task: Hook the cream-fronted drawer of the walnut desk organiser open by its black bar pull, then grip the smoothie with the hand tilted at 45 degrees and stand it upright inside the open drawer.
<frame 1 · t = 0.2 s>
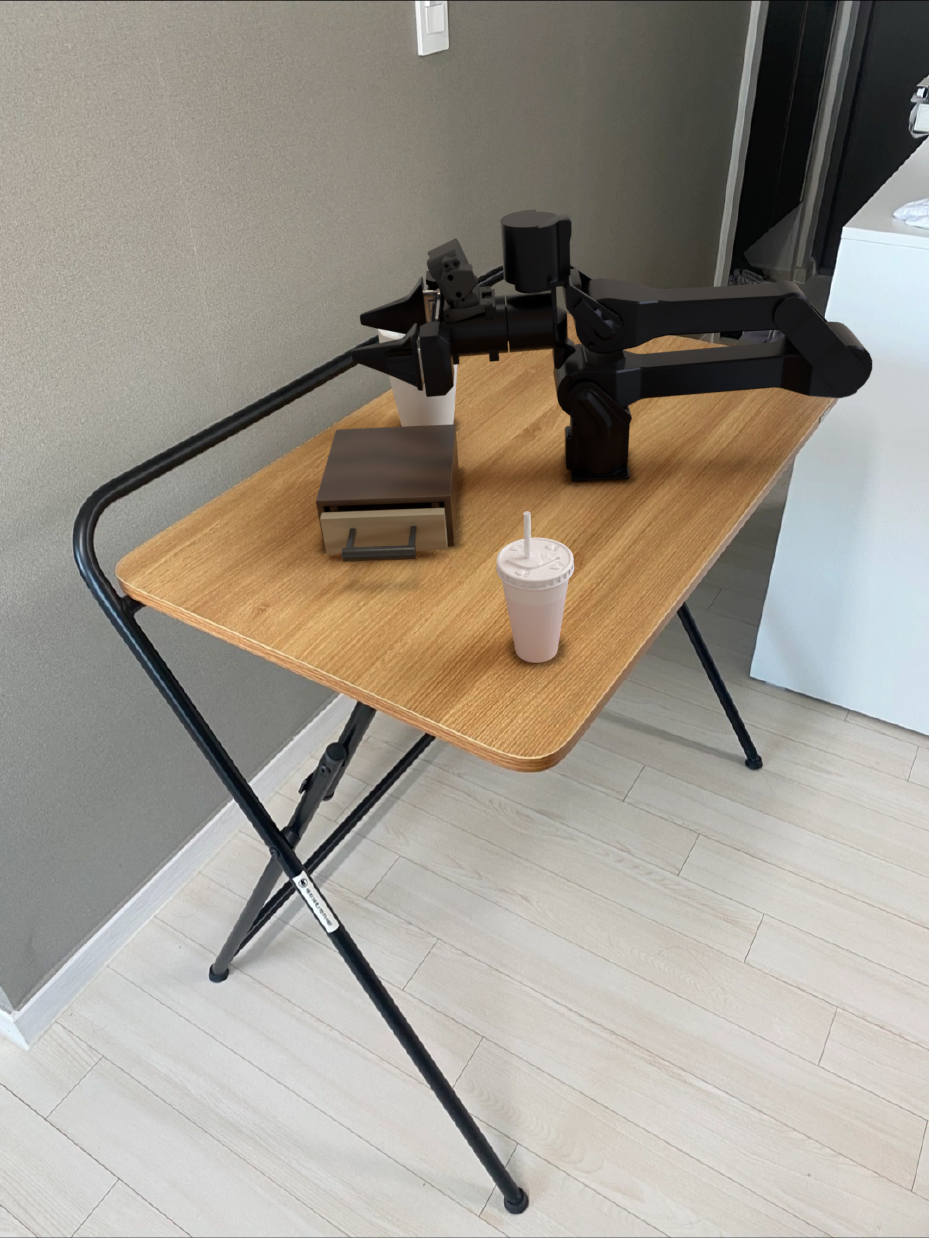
hand: (356, 337, 99), 17 cm above the table, tool horizontal, fingers open, 9 cm apart
smoothie: (536, 650, 84), on the table
cabinet: (395, 508, 104), on the table
foam cup: (428, 428, 119), on the table
drawer: (388, 509, 99), point 3 cm above the table, slide at 0.8 cm
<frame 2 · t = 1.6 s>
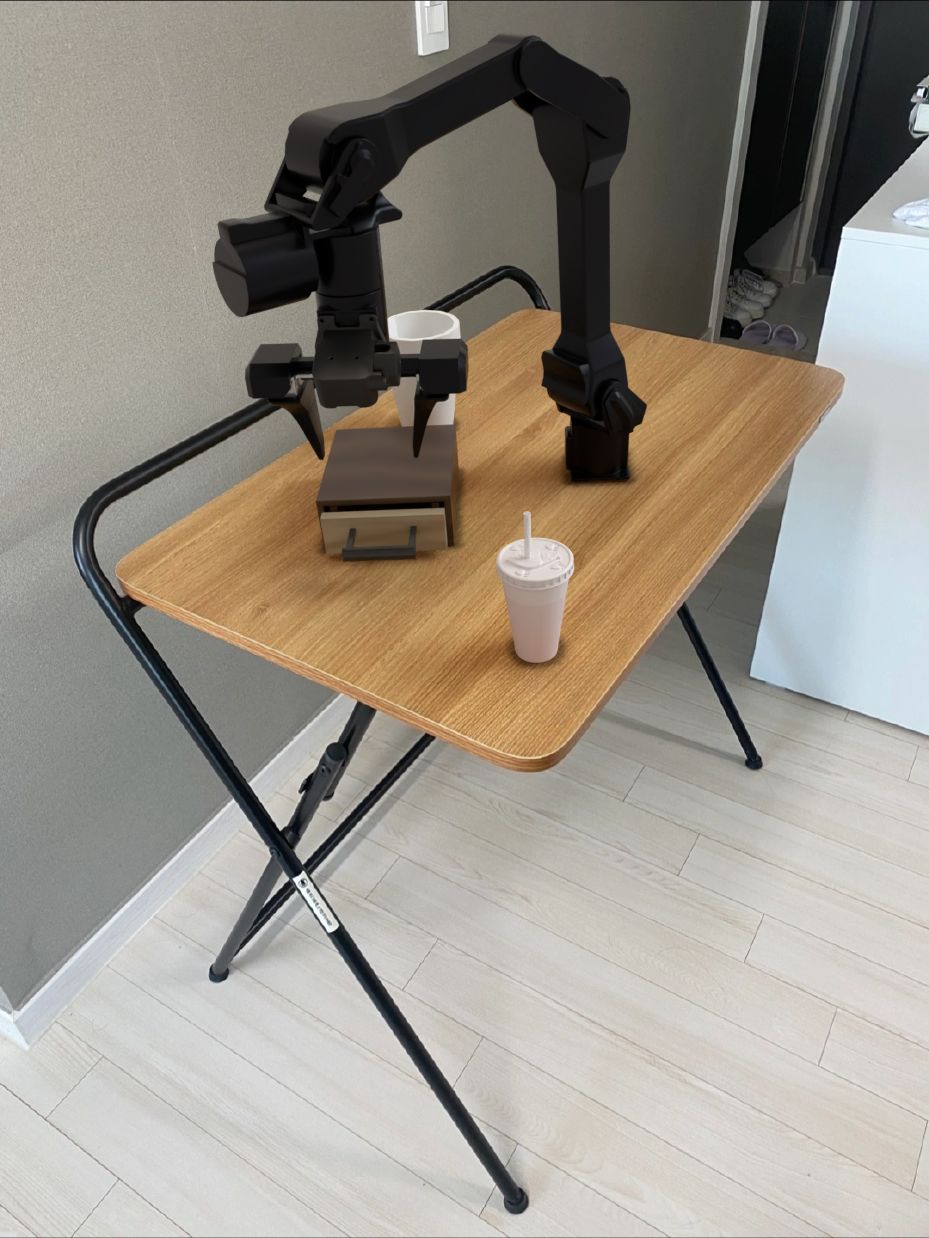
hand: (369, 457, 88), 12 cm above the table, tool pointing down, fingers open, 8 cm apart
nothing on the table moved.
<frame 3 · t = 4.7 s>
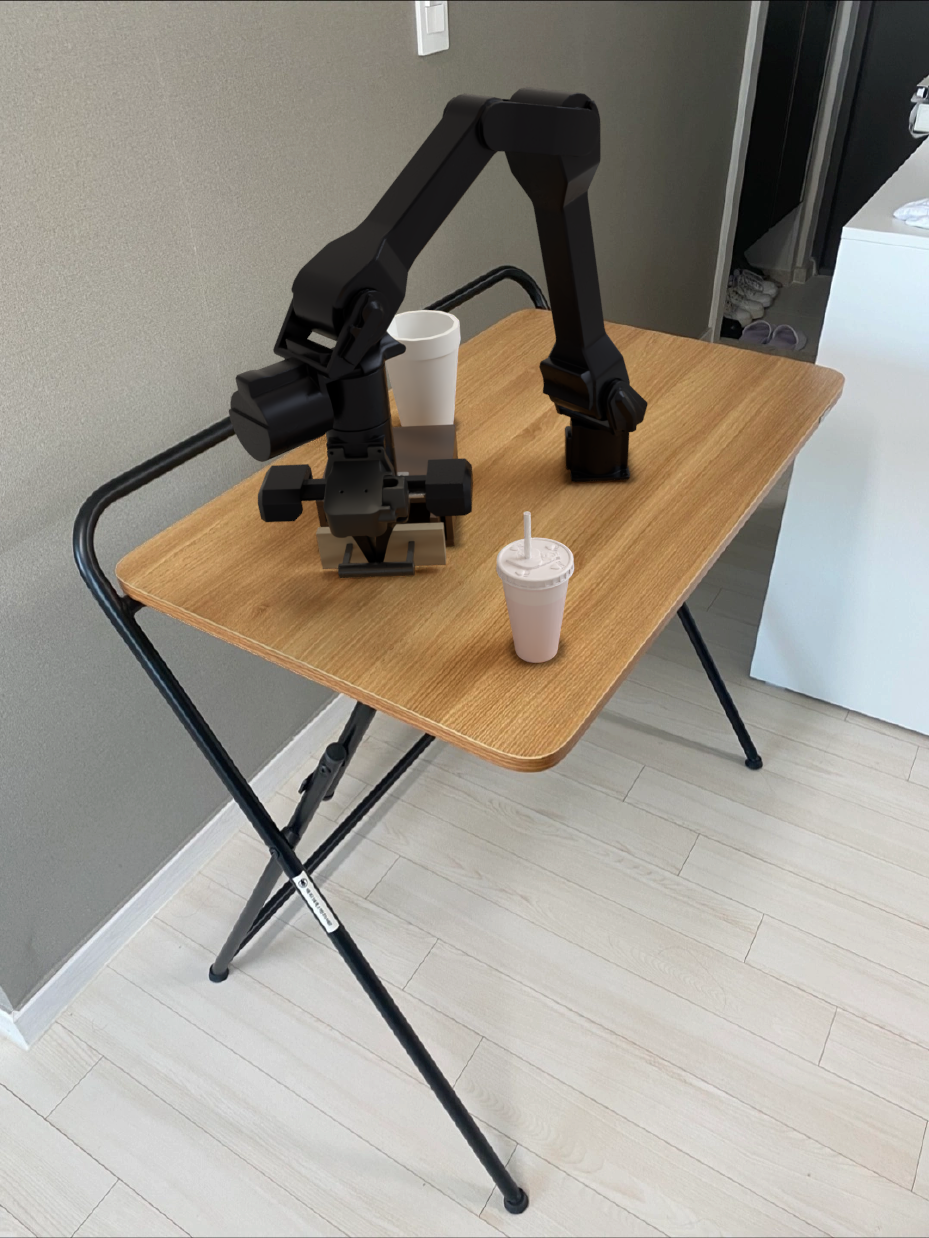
hand: (378, 567, 91), 3 cm above the table, tool pointing down, fingers closed, pressing on drawer
drawer: (386, 523, 96), point 3 cm above the table, slide at 3.5 cm, touching gripper
everything else where it was.
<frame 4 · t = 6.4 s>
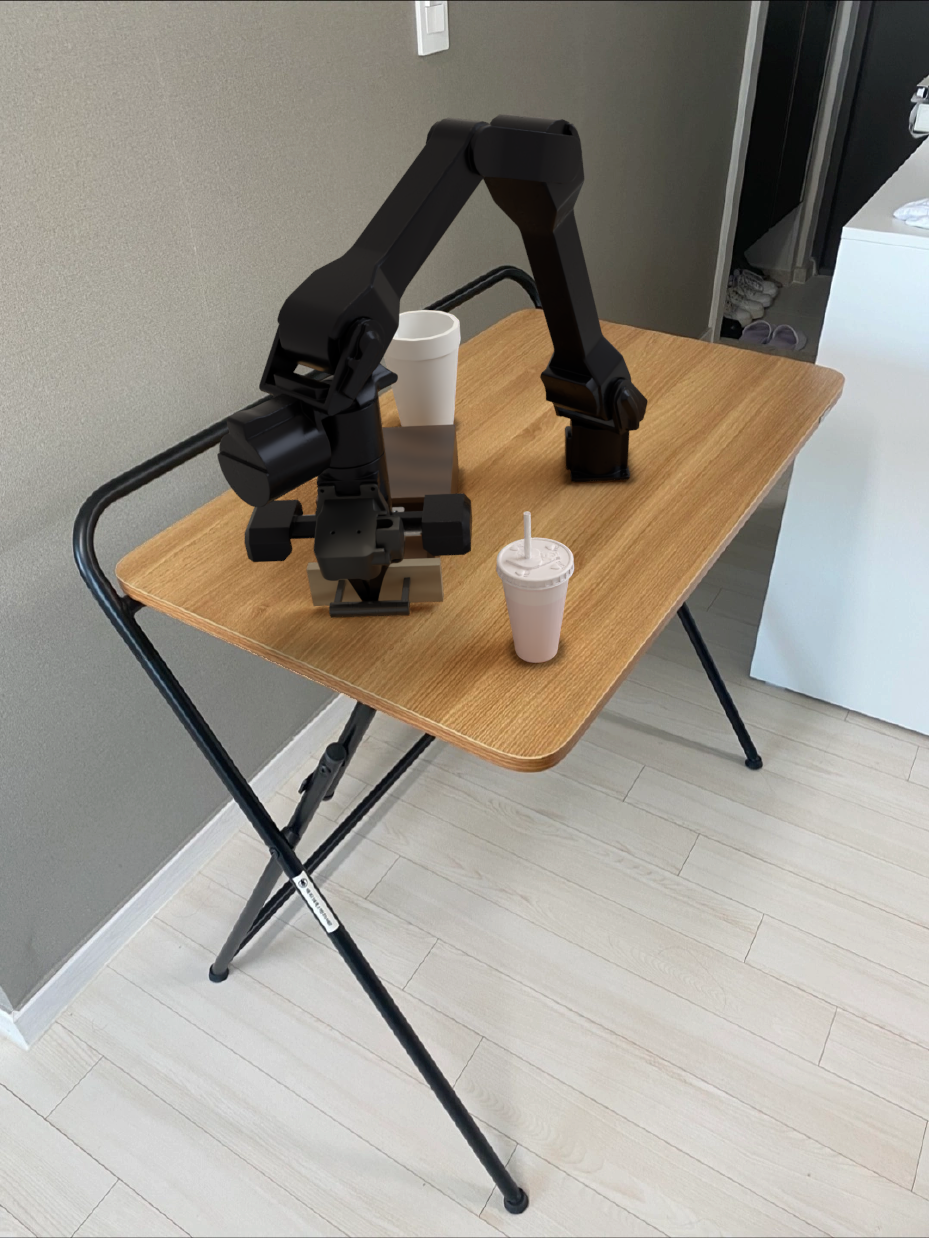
hand: (372, 606, 86), 3 cm above the table, tool pointing down, fingers closed, pressing on drawer
drawer: (380, 556, 92), point 3 cm above the table, slide at 9.4 cm, touching gripper
everything else where it was.
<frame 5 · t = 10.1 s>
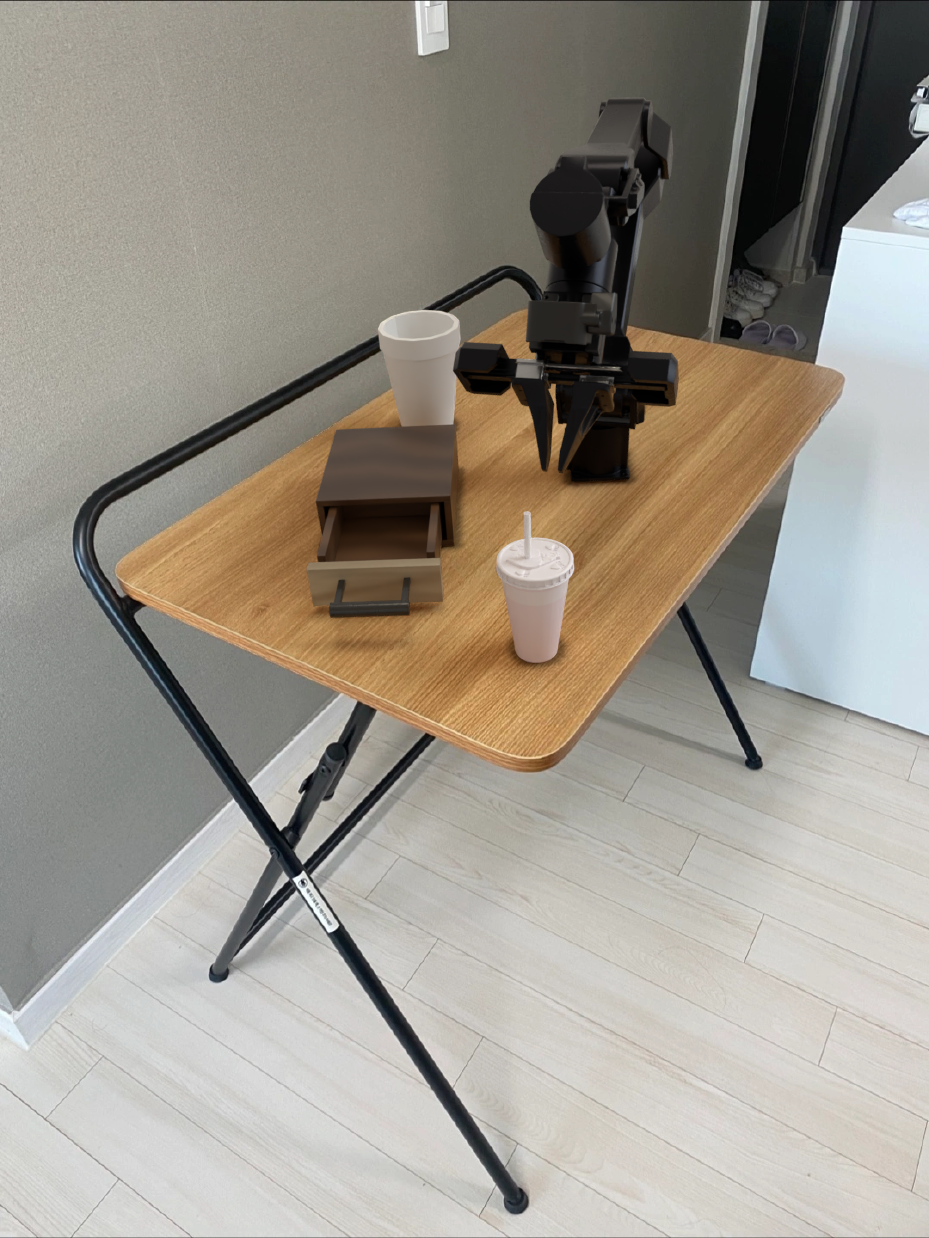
hand: (552, 471, 82), 13 cm above the table, tool tilted 45°, fingers closed
drawer: (380, 556, 92), point 3 cm above the table, slide at 9.5 cm
everything else where it was.
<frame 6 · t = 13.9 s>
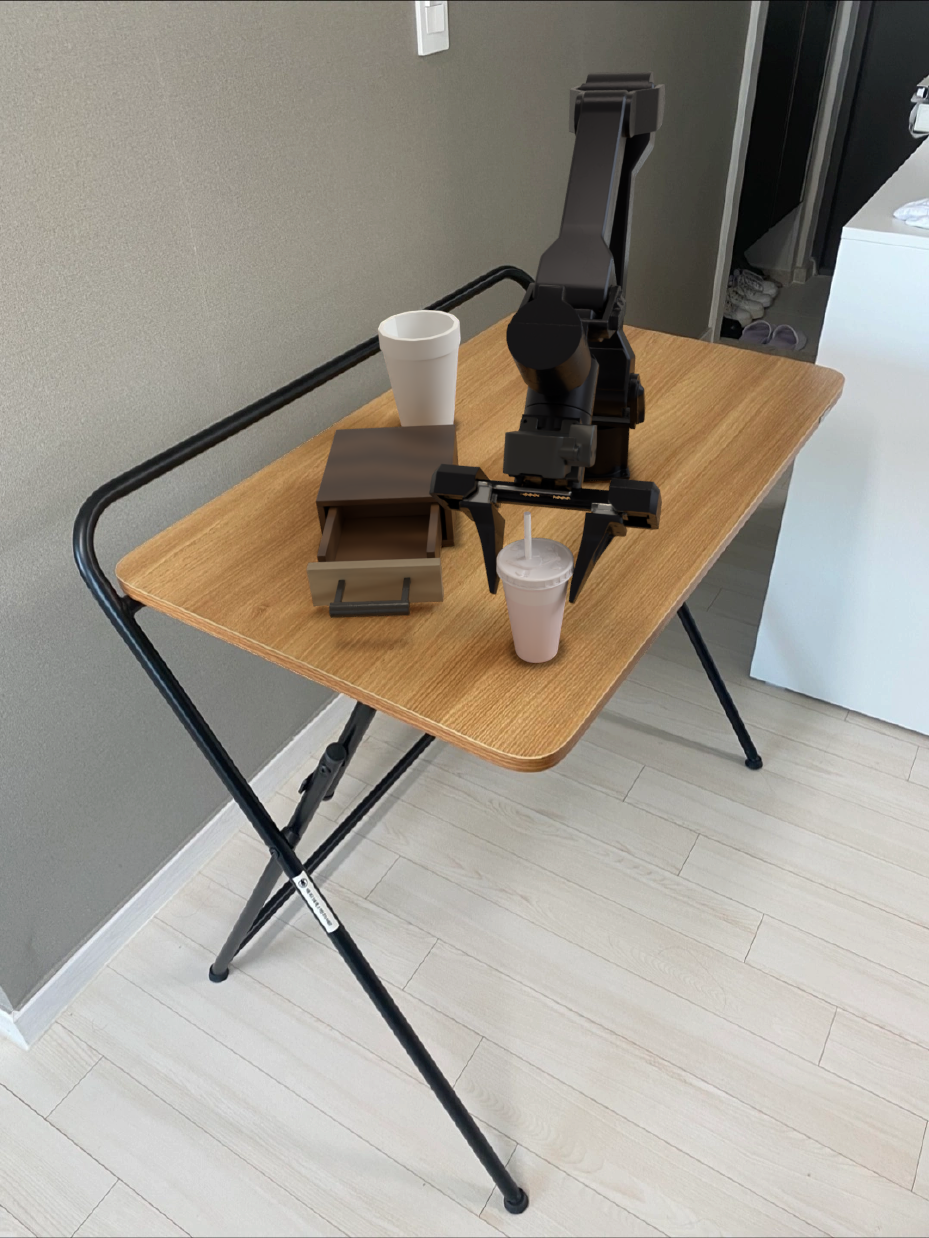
hand: (531, 598, 79), 7 cm above the table, tool tilted 45°, fingers closed on smoothie, 6 cm apart
smoothie: (536, 650, 84), on the table, touching gripper
everything else where it was.
when the fingers open (8 cm above the table, at t = 22.3 s): smoothie stays where it is, resting on drawer.
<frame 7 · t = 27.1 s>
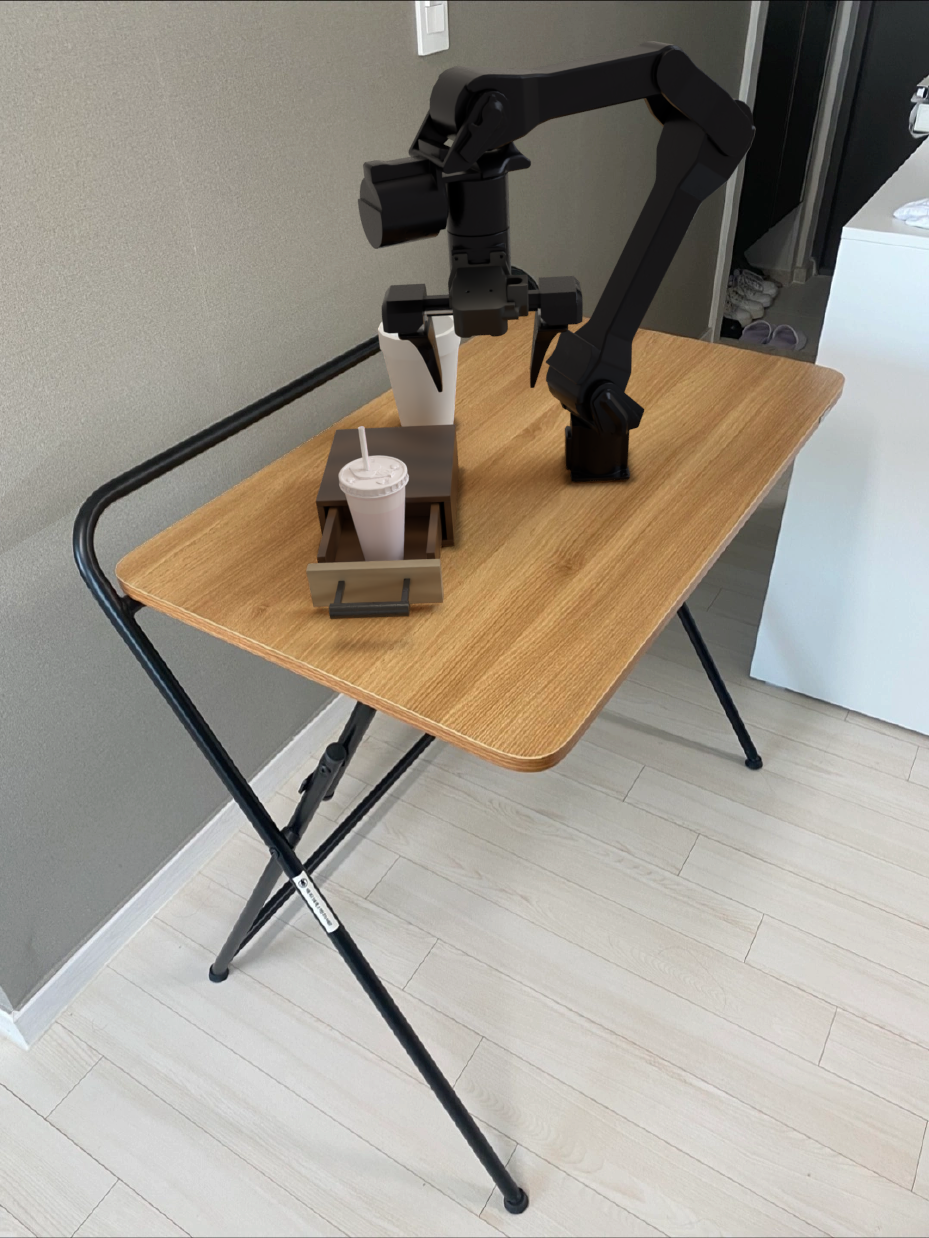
hand: (486, 388, 96), 13 cm above the table, tool pointing down, fingers open, 9 cm apart
smoothie: (384, 561, 93), point 2 cm above the table, touching drawer
drawer: (380, 557, 92), point 3 cm above the table, slide at 9.6 cm, touching smoothie
everything else where it was.
at the end: drawer slide at 9.6 cm; smoothie inside the target area in the drawer (0.3 cm from its centre), point 1.7 cm above the cabinet's base; smoothie tilted 0° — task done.
